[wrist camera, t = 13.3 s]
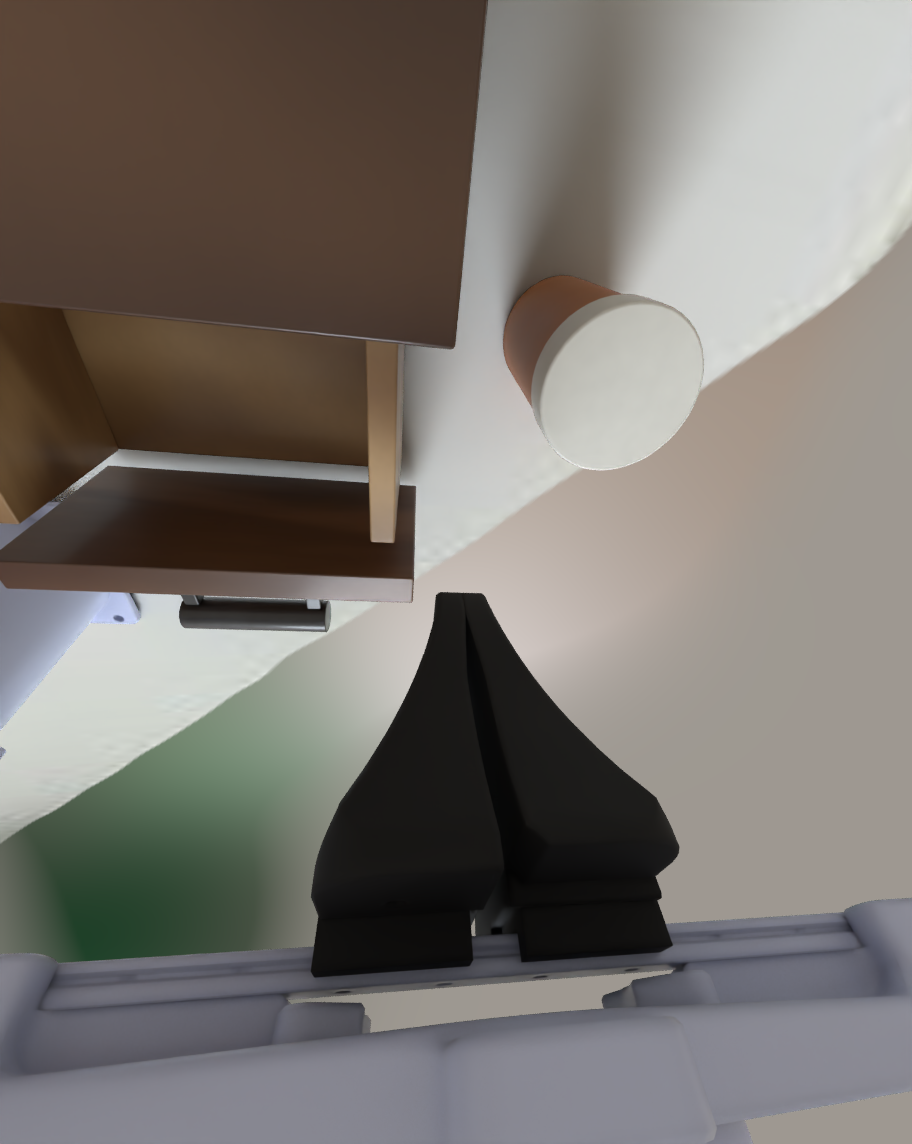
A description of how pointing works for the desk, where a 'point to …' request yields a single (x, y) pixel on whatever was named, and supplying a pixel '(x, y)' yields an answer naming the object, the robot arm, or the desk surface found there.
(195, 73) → the cabinet
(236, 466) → the desk surface
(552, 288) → the pill bottle
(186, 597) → the drawer
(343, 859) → the robot arm
